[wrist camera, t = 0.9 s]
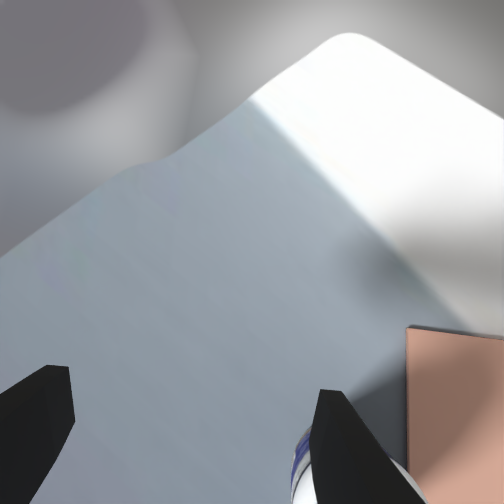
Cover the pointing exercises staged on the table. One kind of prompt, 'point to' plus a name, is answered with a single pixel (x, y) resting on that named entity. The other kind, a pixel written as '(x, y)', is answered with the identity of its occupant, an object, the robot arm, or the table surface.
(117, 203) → the table surface
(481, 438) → the mat
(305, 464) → the pill bottle
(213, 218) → the table surface
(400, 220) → the table surface
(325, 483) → the robot arm
